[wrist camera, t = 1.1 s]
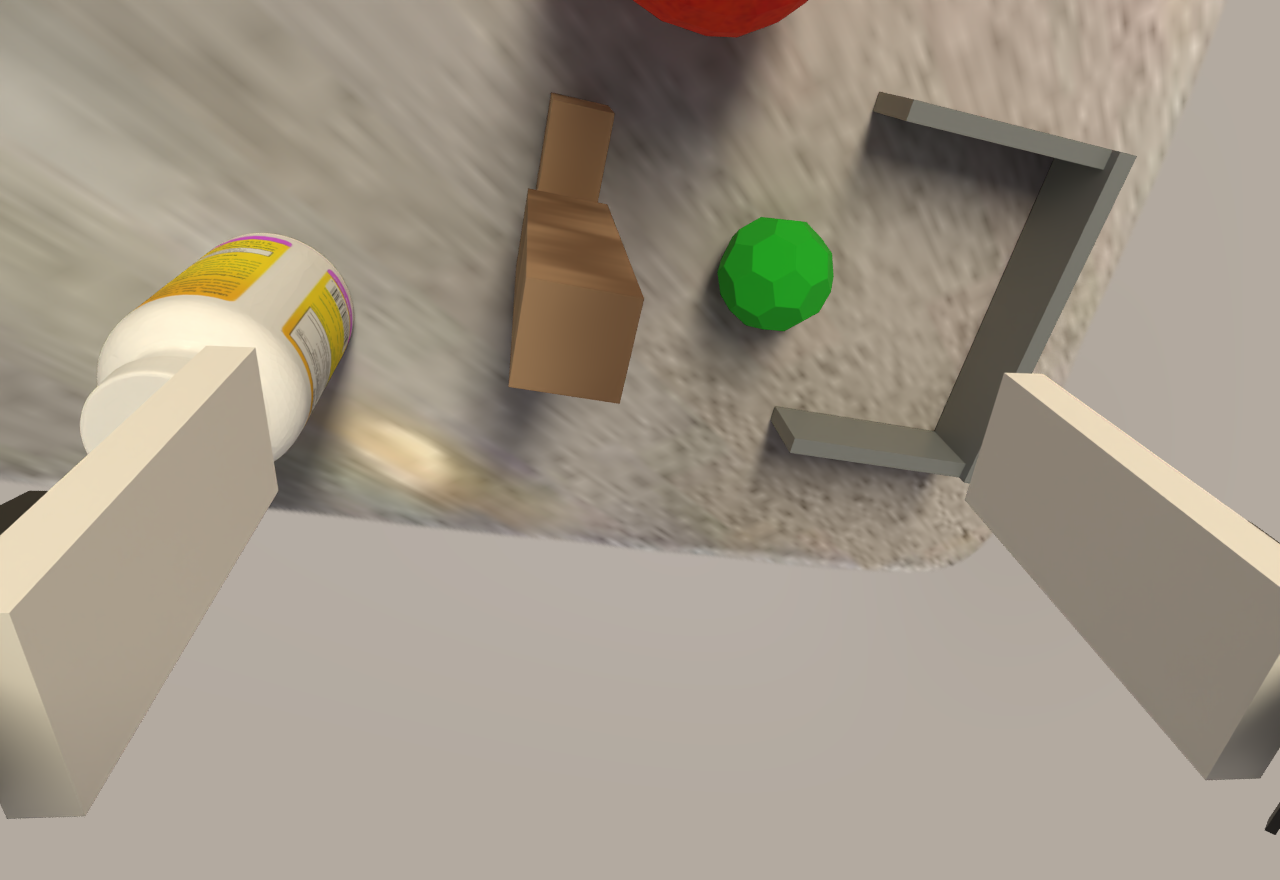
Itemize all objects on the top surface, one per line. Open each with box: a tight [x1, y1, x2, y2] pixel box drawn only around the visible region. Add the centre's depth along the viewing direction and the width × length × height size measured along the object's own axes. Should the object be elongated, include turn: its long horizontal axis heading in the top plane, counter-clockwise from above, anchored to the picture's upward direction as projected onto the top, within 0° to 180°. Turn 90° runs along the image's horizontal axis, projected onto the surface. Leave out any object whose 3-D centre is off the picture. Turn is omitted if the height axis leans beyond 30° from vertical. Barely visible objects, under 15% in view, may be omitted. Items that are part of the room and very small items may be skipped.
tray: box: [771, 92, 1137, 483], centre depth 37 cm, size 10×16×4 cm, turn 167°
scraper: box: [509, 93, 644, 404], centre depth 28 cm, size 3×10×15 cm, turn 167°
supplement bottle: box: [80, 233, 354, 461], centre depth 30 cm, size 7×7×13 cm
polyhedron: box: [717, 217, 833, 331], centre depth 35 cm, size 5×5×5 cm
